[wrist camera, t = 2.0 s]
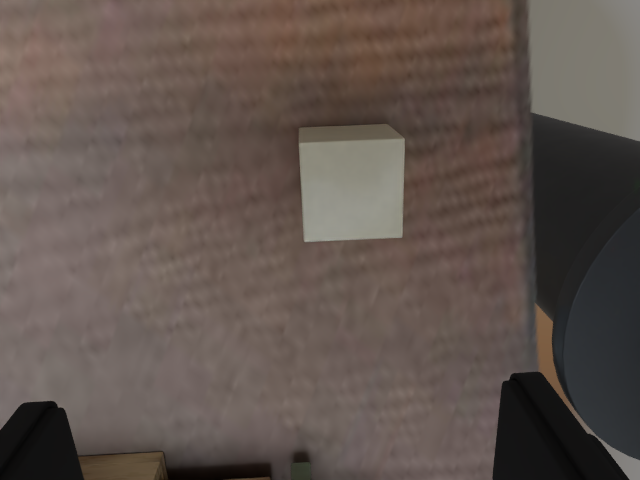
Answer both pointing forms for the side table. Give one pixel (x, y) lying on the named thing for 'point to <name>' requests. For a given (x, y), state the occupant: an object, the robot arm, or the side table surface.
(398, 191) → the block
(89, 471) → the cabinet
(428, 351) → the side table surface
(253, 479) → the drawer
